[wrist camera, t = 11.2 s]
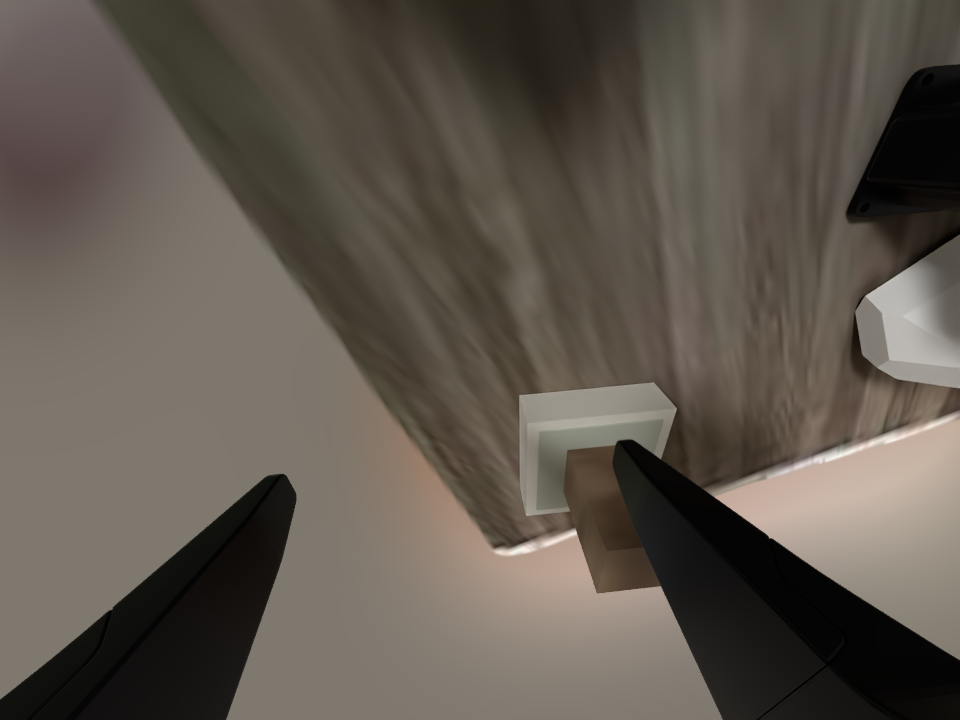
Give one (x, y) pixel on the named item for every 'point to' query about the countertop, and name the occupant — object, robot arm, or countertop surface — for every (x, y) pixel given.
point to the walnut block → (604, 522)
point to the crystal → (916, 321)
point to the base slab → (583, 433)
